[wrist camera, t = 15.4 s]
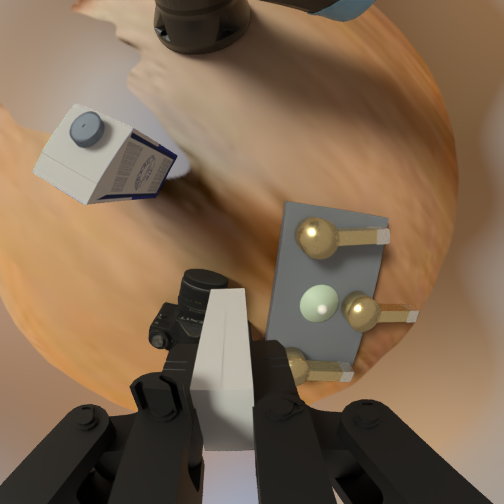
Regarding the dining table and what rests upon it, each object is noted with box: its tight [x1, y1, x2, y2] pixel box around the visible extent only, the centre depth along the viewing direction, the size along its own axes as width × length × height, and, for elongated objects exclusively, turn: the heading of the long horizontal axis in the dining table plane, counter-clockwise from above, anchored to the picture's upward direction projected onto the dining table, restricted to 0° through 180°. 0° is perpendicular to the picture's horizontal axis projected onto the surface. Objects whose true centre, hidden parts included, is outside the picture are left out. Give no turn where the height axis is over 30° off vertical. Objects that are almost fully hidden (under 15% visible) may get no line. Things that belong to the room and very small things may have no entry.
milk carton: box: [33, 103, 177, 205], centre depth 26 cm, size 7×7×20 cm
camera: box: [149, 269, 253, 351], centre depth 36 cm, size 14×11×10 cm
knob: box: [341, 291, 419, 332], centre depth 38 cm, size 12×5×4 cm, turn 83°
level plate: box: [264, 201, 389, 367], centre depth 40 cm, size 28×16×3 cm, turn 173°
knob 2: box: [285, 347, 354, 386], centre depth 39 cm, size 12×5×4 cm, turn 79°
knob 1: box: [294, 217, 390, 260], centre depth 35 cm, size 12×5×4 cm, turn 93°
